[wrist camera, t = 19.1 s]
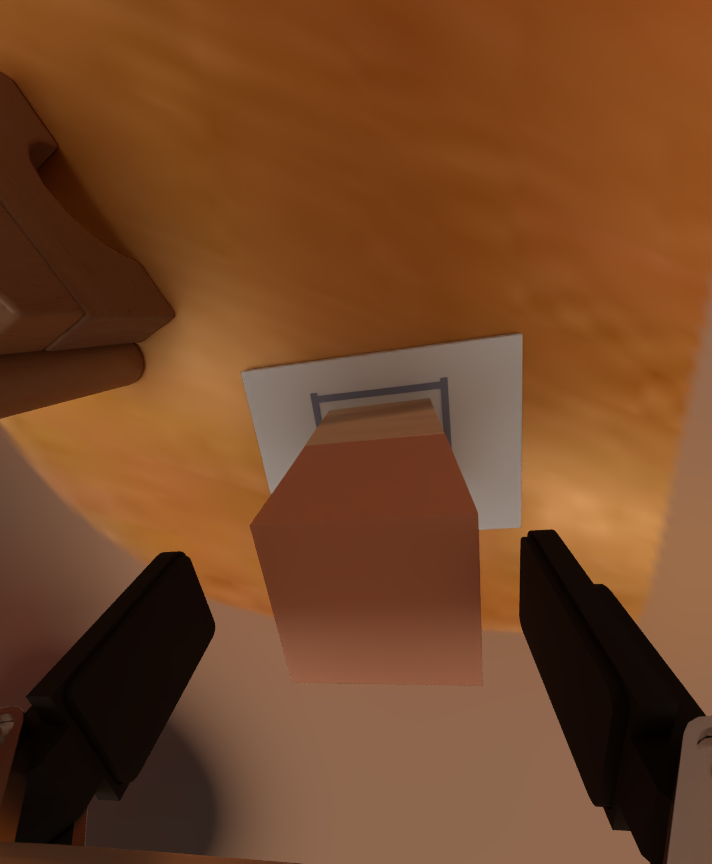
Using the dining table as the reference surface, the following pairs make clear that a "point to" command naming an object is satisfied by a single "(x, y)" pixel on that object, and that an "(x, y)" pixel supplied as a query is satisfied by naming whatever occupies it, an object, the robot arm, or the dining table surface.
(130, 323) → the wooden toy
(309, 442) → the birch block
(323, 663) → the rust block
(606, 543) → the dining table surface
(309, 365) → the board
